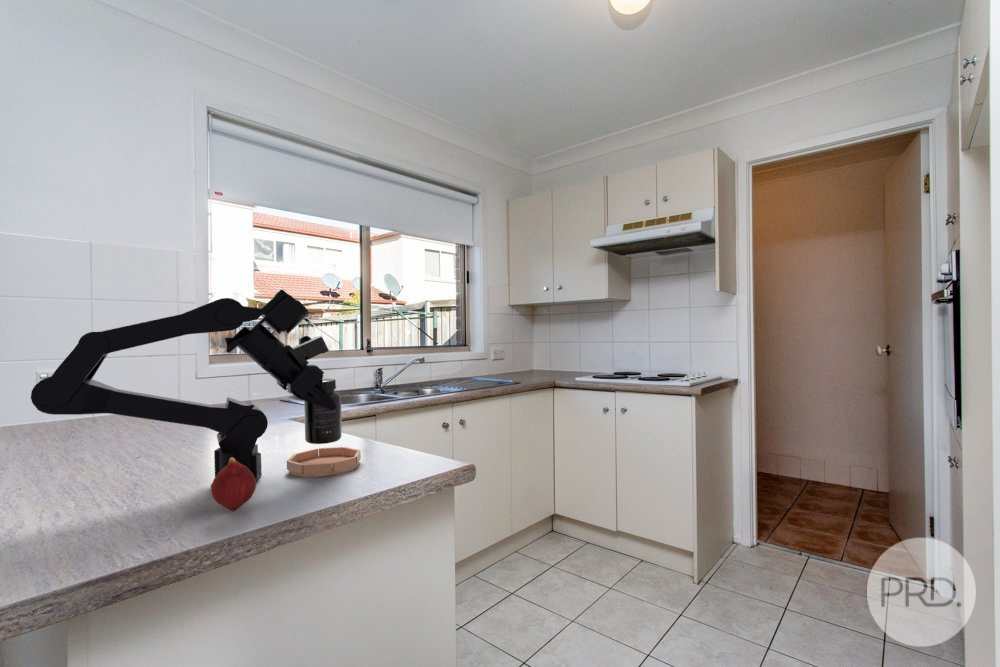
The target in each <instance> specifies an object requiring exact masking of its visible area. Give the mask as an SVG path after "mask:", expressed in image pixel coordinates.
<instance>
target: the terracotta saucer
mask: <svg viewBox="0 0 1000 667" xmlns="http://www.w3.org/2000/svg"><path fill="white" fill-rule="evenodd" d="M361 454H362V453H361V449H357V448H353V447H348V446H345V447H343V446H337V447H336V446H334V447H333V446H332V447H319V448H313V449H309V450H305V451H301V452H297V453H295V454H292V455H291V456H290V457H289V458H288V459H286V470H287V471H289V472H288V473H289V474H290V475H291V476H294V477H298V478H305V479H307V478H309V479H311V478H313V479H314V478H315V479H316V478H325V477H333V476H339V475H341V474H342V475H343V474H345V473H349V472H352V471H353V470H356V469H358V467H359V466H360V461H361V456H362V455H361Z"/></svg>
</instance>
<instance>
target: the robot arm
mask: <svg viewBox="0 0 1000 667" xmlns="http://www.w3.org/2000/svg"><path fill="white" fill-rule="evenodd" d="M309 315H310V311H309V310H308V309H307V308H306V306H304V304H303V303H302V302H301V301H300V300H299V299H296V298H294V297H293V296H292V295H290V294H289V293H287V292H286V291H285V290H284V289H280V290H278V291H277V292H276V293H275V294H274V295H273V297H272V298H271V299H270V300H269V301H267V303H266V304H265V305H263V306H262V307H261V308H259V307H257V306H255V307H251V306H244V305H242V304H241V302H240V301H238V300H235V299H234V298H229V297H224V298H219V299H216V300H213V301H211V302H209V303H206V304H204V305H200V306H198V307H196V308H193V309H191V310H188V311H186V312H183V313H179V314H176V315H170V316H167V317H161V318H158V319H153V320H148V321H144V322H140V323H139V322H138V323H135V324H134V323H133V324H130V325H125V326H121V327H120V326H119V327H116V328H111V329H107V330H106V329H105V330H102V331H101V330H100V331H91V332H86V333H84V334H83V335H82V336H81V337H80V338H79V339H78V343H77V344H76V345H75V347H74V348H73V350H72V351H70V353H69V354H68V355H67V356H66V357H65V359H63V361H62V362H61V363H60V364H59V365H58V367H57V368H56V370H54V372H53V373H52V375H51V376H48V377H45V378H44V379H40V380H39V381H38V383H36V384H35V385H34V387H32V389H31V391H30V392H31V394H30V400H31V403H32V405H33V406H34V407H35V408H36V410H38V411H39V412H41V413H43V414H47V415H57V416H58V415H61V416H62V415H66V416H67V415H69V416H70V415H71V416H73V415H74V416H75V415H77V416H78V415H80V416H81V415H94V414H95V415H96V414H97V415H98V414H110V415H111V414H112V415H117V416H118V415H119V416H124V417H131V418H137V419H144V420H152V421H157V422H158V421H159V422H166V423H171V424H172V423H173V424H180V425H188V426H192V427H193V426H194V427H201V428H206V429H209V430H212V431H214V432H216V433H217V434H216V438H217V443H218V448H216V449H214V456H213V457H214V478H215V477H216V475H217V474H218V473H219V472H220V471H221V470H222V469H223V468H224V467H226V466H227V465H228V463H229V460H230V458H235V460H236V461H237V462H239V463H240V464H242V465H244V466H246V467H247V468H248V469H249V470H250V471H251V472H252V474H253V475H254V477H255V480H256V481H257V480H258V479H259V478H260V477H261V476H262V454H261V452H259V447H258V446H259V444H258V443H257V441H258V439H259V438H260V437H262V436H263V435H264V434H265V432H266V431H267V428H268V425H269V422H268V418H267V416H266V414H265V413H264V412H263V411H262V410H261V409H260V408H259V407H258V406H256V405H255V404H254V403H253V402H252V400H245V401H243V400H242V401H241V400H237V399H234V398H231V397H229V396H228V397H227V398H226V400H225V402H226V403H225V404H207V403H201V402H195V401H191V400H185V399H180V398H179V399H178V398H173V397H172V398H171V397H168V396H167V397H165V396H160V395H153V394H147V393H141V392H135V391H131V390H125V389H119V388H115V387H113V386H111V385H108V384H106V383H102V382H100V381H98V380H94V379H93V378H94V376H96V375H95V374H97V371H98V370H99V369H100V367H101V365H102V364H103V362H104V361H105V359H106V358H107V357H108V355H109V354H111V353H116V352H119V351H122V350H127V349H132V348H135V347H136V348H137V347H141V346H144V345H149V344H153V343H156V342H157V343H158V342H162V341H166V340H170V339H174V338H179V337H183V336H186V335H195V334H196V335H197V334H208V333H209V334H210V333H218V332H219V333H220V332H228V331H234V330H236V329H239V328H240V327H241V329H240V330H238V331H237V333H235V334H234V335H233V336H232V337H225V338H224V342H225V353H232V352H233V351H234V350H235V349H237V348H239V350H241V352H242V353H244V354H245V355H246V356H248V357H249V358H250V359H251V360H252V361H253V362H255V363H256V364H257V365H258V366H259V368H260V369H262V370H264V371H265V372H266V373H267V374H269V375H270V376H271V377H272V378H273V379H274V380H275V381H276V384H277V385H278V386H279V387H280V388H281V389H282V390H284V391H287V393H289V394H291V395H293V396H294V397H295V398H296V399H298V400H300V401H301V400H302V401H304V402H305V401H307V402H310V403H313V404H316V405H319V406H322V407H324V408H327V409H330V410H334V409H335V408H336V404H335V403H334V401H333V400H332V399H331V397H330V396H329V394H328V393H327V391H326V390H325V388H324V387H323V385H322V379H324V374H325V372H324V371H323V370H322V369H321V368H320V367H318V365H315V364H309V363H310V362H309V361H308V360H311V359H313V358H315V357H317V356H318V355H321V354H326V353H328V352H329V351H330V349H329V348H328V346H327V344H326V342H325V339H324V337H323V336H322V335H319V336H314V337H313V338H311V337H310V336H308V335H304V336H301V337H300V338H298V344H296V345H295V346H294V347H292V346H291V345H289V344H284V343H283V342H282V341H281V340H280V339H279V338H278V337H277V336H276V335H274V334H273V333H272V332H271V331H270V330H269V329H271V330H272V331H273V332H274V333H276V334H277V335H280V334H282V333H285V334H286V335H289V333H291V332H292V331H293V330H294V329H295V328H296V327H297V326H299V324H300V323H302V322H303V321H304V320H305V319H306V318H307V317H308V316H309ZM260 317H262V318H260ZM259 318H260V320H259V321H258V322H256V324H254V325H253V326H252V327H251V328H248V327H246V326H244V327H242V325H243V324H244V323H247V322H253V321H256V320H258V319H259ZM263 324H265V325H266V326H267V327H268V328H269V329H268V328H267V327H265V326H264V325H263ZM256 443H257V444H256ZM211 487H212V484H210V488H211Z"/></svg>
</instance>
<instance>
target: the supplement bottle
mask: <svg viewBox="0 0 1000 667" xmlns="http://www.w3.org/2000/svg"><path fill="white" fill-rule="evenodd" d="M322 385H323V387H324V388H325V390H326V391H327V393H328V394H329V396H330V397H331V399H332V400H333V401H334V403H335V404H336V408H335V409H334V410H330V409H327V408H324V407H322V406H319V405H316V404H313V403H310V402H307V401H304V404H303V405H304V440H305V442H307V443H308V444H312V445H325V444H331V443H332V444H333V443H336V442H338V441H340V440H341V438H342V432H343V431H342V396H341V395H340V394H339V392H337V391H336V389H337V385H336V379H335V378H323V379H322Z"/></svg>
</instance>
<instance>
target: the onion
mask: <svg viewBox="0 0 1000 667" xmlns="http://www.w3.org/2000/svg"><path fill="white" fill-rule="evenodd" d="M256 486H257V480H255V477H254V475H253V474H252V472H251V471H250V470H249V469H248V468H247V467H246V466H244V465H242V464H240V463H239V462H237V461H236V460H235V458H230V460H229V463H228V465H227V466H226V467H224V468H223V469H222V470H221V471H220V472H219V473H218V474H217V475H216V477H215V476H214V479H213V481H212V487H211V486H210V488H211V489H210V492H211V495H212V497H213V499H214V501H215V502H216V503H217V504H219V505H220V506H222V507H224V508H225V509H227V510H228V511H230V512H235V511H237V510H239V509H240V508H241V507H242V506H243V505H245V504H246V503H247V502H249V500H250V499H252V496H253V494H254V493H255V490H256Z"/></svg>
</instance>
